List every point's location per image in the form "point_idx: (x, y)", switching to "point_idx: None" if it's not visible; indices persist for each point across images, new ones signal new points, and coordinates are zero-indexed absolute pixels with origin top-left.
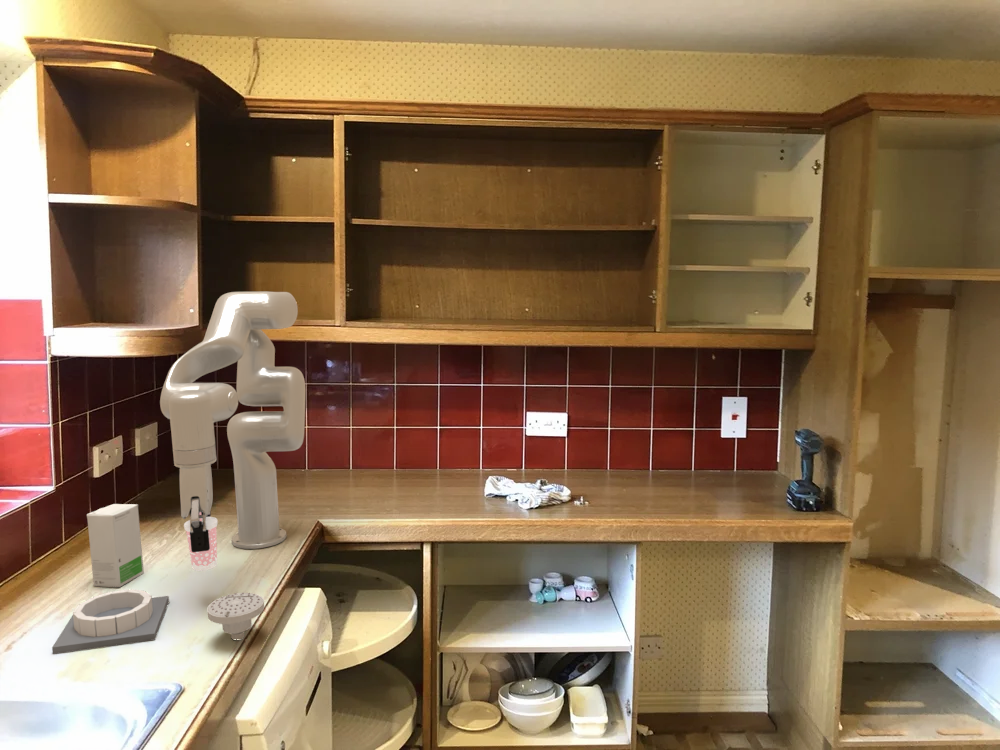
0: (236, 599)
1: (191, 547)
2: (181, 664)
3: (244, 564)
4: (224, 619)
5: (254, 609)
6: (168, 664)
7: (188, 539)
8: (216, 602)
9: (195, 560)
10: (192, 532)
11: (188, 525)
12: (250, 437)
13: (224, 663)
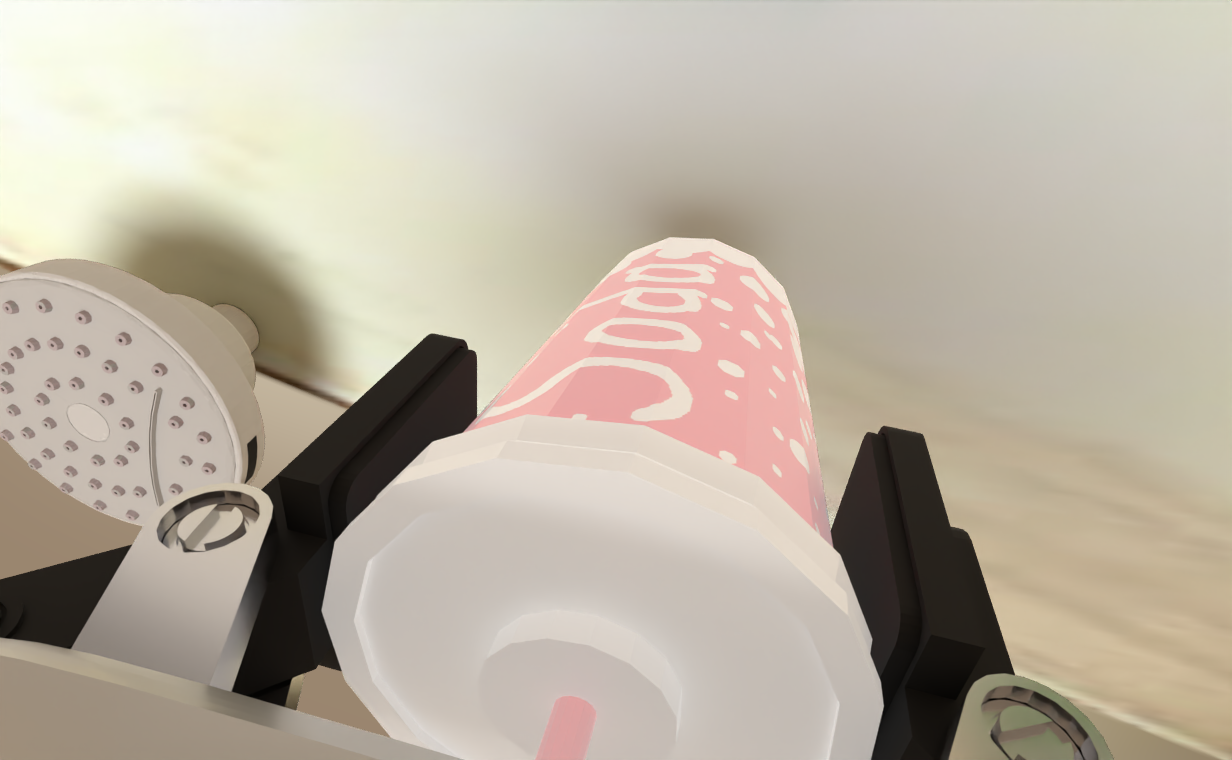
0: (124, 431)
1: (405, 356)
2: (9, 73)
3: (1203, 496)
4: None
5: (44, 476)
6: (4, 6)
7: (553, 368)
8: (99, 333)
9: (579, 305)
10: (198, 513)
11: (536, 519)
12: None
13: (30, 255)
